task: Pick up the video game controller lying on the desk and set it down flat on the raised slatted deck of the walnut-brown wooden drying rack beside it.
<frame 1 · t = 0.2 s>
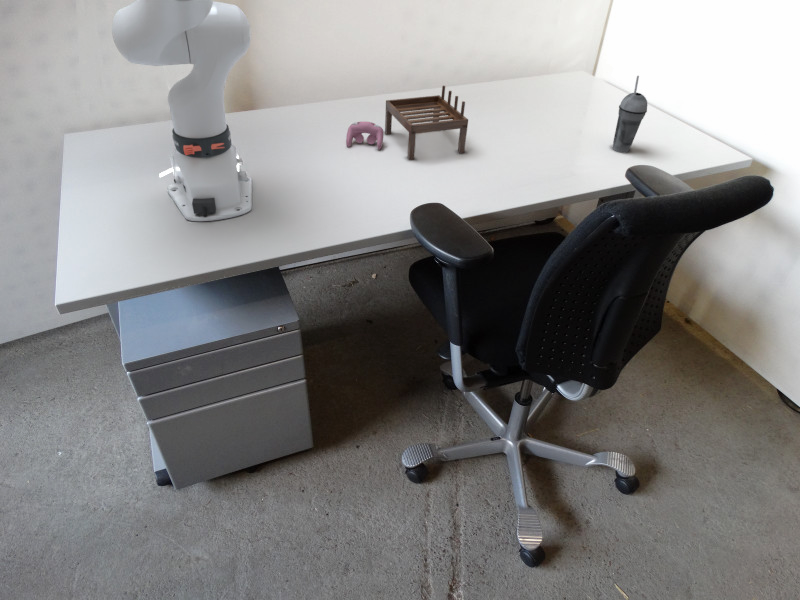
rack: (423, 142, 161), on the table
video game controller: (364, 145, 158), on the table
beverage cup: (620, 149, 164), on the table
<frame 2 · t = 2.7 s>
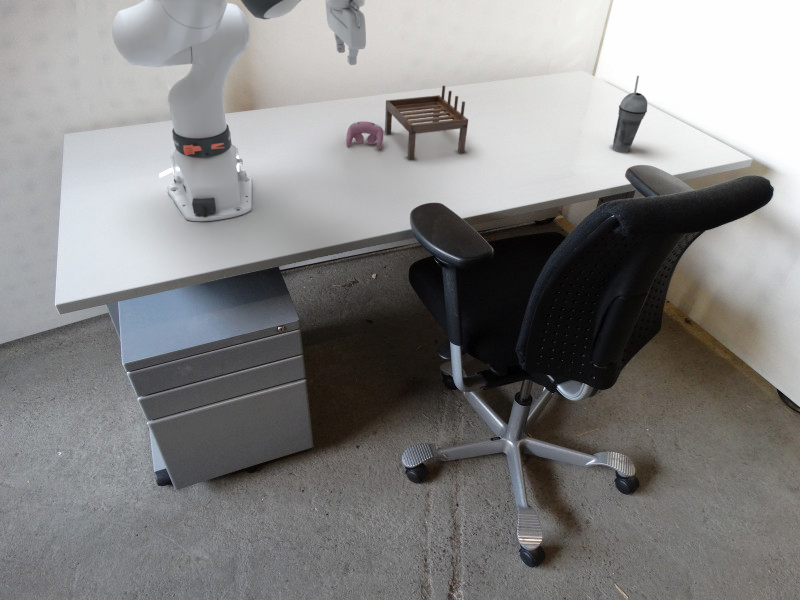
hand: (346, 57, 143), 22 cm above the table, tool pointing down, fingers open, 8 cm apart
nothing on the table moved.
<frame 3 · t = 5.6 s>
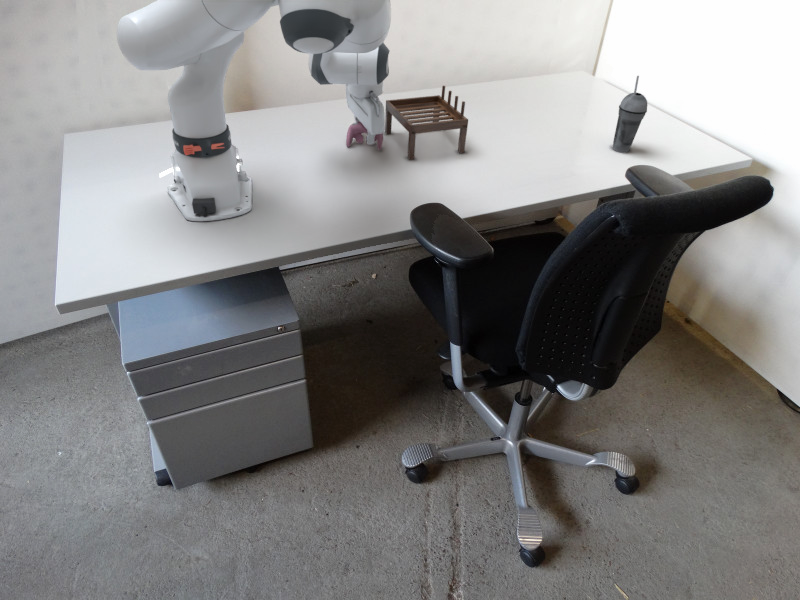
hand: (364, 137, 156), 2 cm above the table, tool pointing down, fingers closed on video game controller, 7 cm apart
video game controller: (364, 145, 158), on the table, touching gripper
everything else where it was.
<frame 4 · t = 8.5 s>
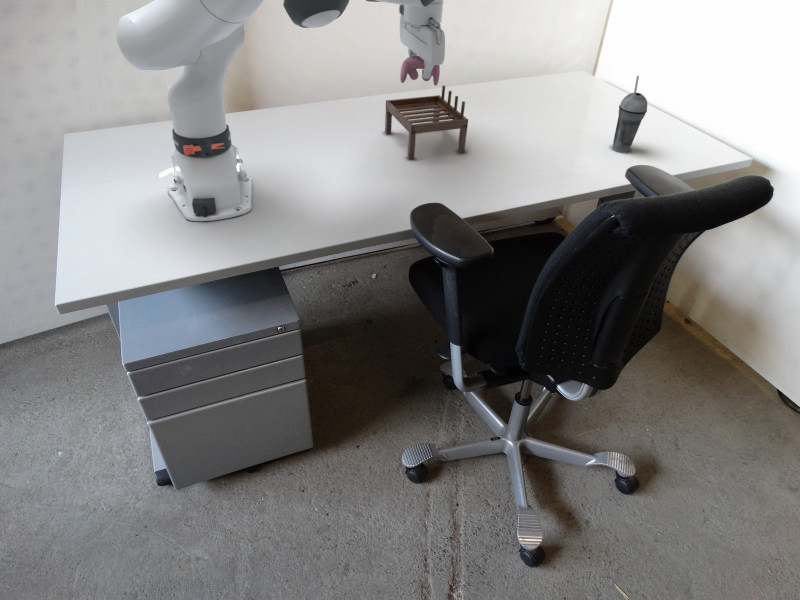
hand: (419, 72, 148), 19 cm above the table, tool pointing down, fingers closed on video game controller, 7 cm apart
video game controller: (419, 82, 149), point 17 cm above the table, touching gripper
everything else where it was.
when the fingers open (10 cm above the table, at t = 11.6 s): video game controller stays where it is, resting on rack.
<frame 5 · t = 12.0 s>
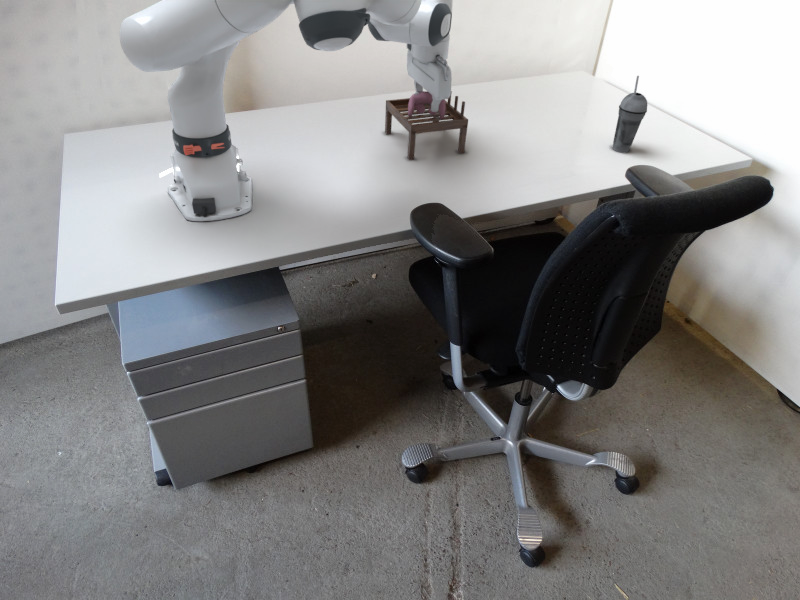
hand: (426, 104, 154), 11 cm above the table, tool pointing down, fingers open, 8 cm apart
video game controller: (426, 116, 156), point 8 cm above the table, touching rack
everything else where it was.
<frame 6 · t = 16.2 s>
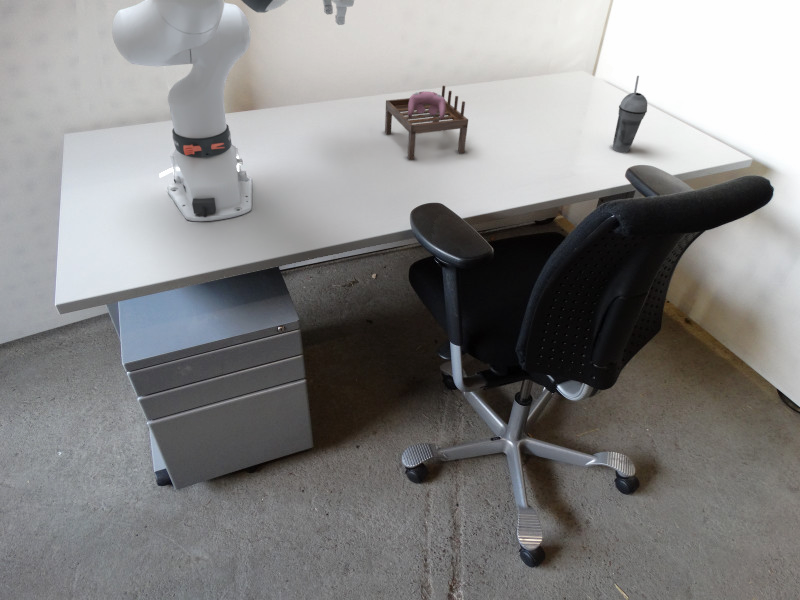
hand: (334, 18, 138), 31 cm above the table, tool pointing down, fingers open, 8 cm apart
nothing on the table moved.
at the end: video game controller inside the target area on the rack (0.4 cm from its centre), point 7.6 cm above the rack's base; the gripper is holding nothing; video game controller tilted 0° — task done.
